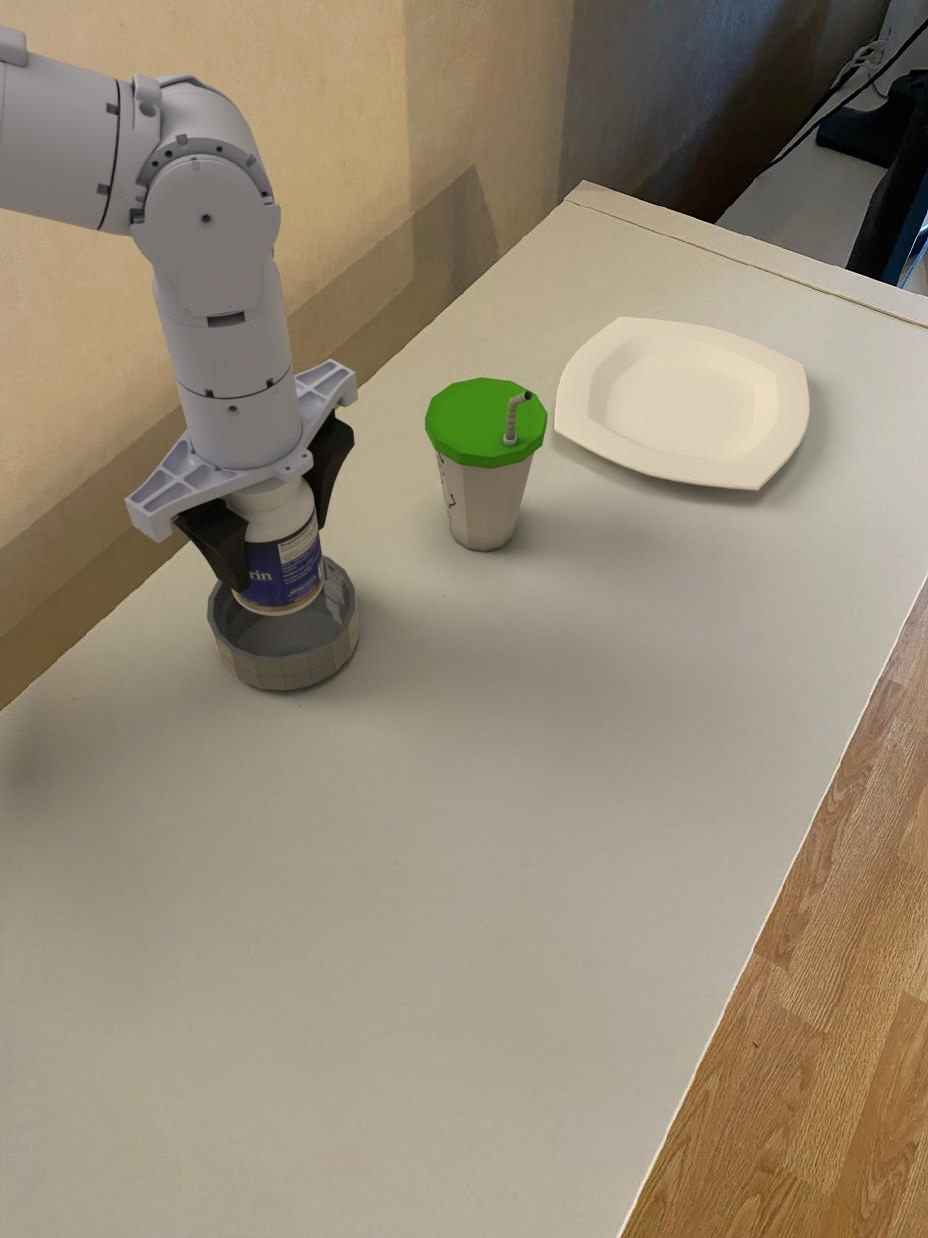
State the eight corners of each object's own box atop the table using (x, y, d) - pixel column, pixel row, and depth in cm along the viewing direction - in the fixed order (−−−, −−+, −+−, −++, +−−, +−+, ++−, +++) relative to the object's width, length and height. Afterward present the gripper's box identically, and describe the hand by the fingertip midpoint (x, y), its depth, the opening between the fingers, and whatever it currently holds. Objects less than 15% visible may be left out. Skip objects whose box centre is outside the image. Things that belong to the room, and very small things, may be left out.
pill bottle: (211, 590, 62) (177, 469, 54) (276, 535, 65) (253, 413, 57) (281, 635, 60) (256, 516, 52) (345, 577, 62) (330, 455, 55)
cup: (427, 490, 75) (423, 315, 63) (533, 489, 75) (548, 315, 63) (427, 570, 70) (423, 396, 58) (540, 569, 70) (559, 395, 58)
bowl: (213, 701, 63) (203, 668, 60) (220, 587, 69) (211, 552, 66) (362, 689, 64) (358, 656, 61) (356, 577, 69) (352, 542, 67)
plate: (772, 530, 73) (779, 510, 71) (521, 455, 77) (523, 435, 76) (824, 376, 84) (831, 356, 82) (602, 318, 88) (605, 299, 87)
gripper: (171, 477, 44) (225, 663, 55) (394, 324, 51) (403, 514, 62) (70, 409, 47) (140, 598, 57) (294, 273, 54) (320, 464, 65)
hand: (271, 551), depth 60 cm, fingers closed on pill bottle, 5 cm apart
